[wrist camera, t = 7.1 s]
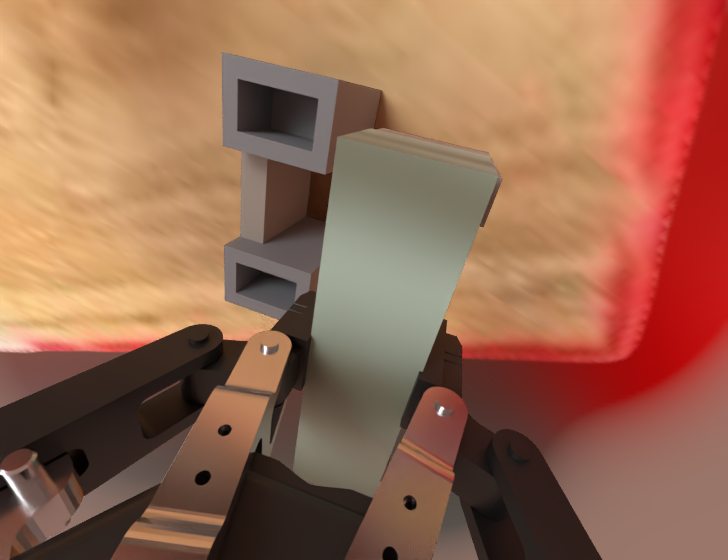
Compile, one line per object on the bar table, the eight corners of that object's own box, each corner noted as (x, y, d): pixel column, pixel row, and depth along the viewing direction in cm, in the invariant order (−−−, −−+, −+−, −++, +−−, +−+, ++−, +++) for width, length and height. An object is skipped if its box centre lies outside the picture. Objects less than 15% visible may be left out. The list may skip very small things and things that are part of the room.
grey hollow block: (300, 71, 27) (221, 51, 18) (381, 90, 26) (338, 79, 17) (283, 254, 35) (224, 300, 27) (344, 274, 34) (303, 328, 26)
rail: (383, 121, 12) (326, 133, 7) (490, 146, 12) (511, 178, 7) (334, 375, 19) (286, 473, 14) (400, 398, 19) (375, 508, 14)
